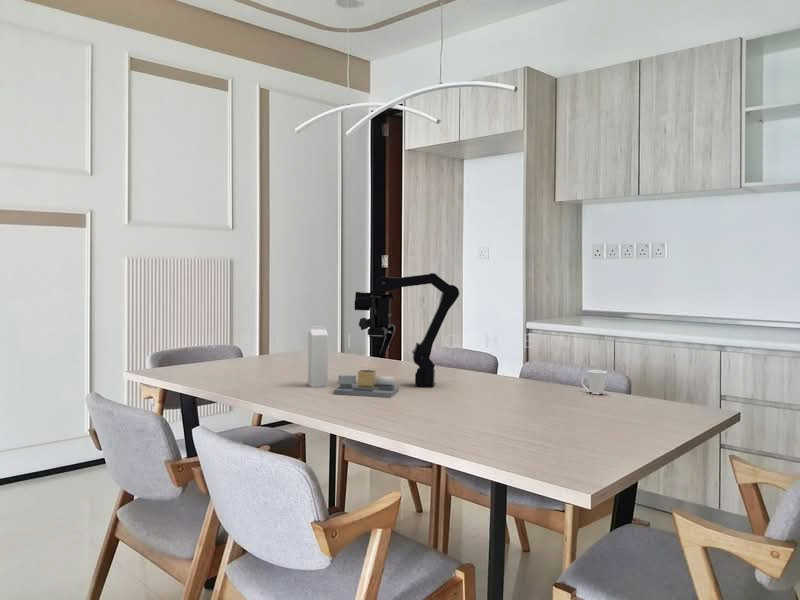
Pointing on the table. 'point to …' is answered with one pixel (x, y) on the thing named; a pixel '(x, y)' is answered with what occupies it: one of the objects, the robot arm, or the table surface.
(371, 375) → the gold square block
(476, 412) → the table surface
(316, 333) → the milk
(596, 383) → the cup
